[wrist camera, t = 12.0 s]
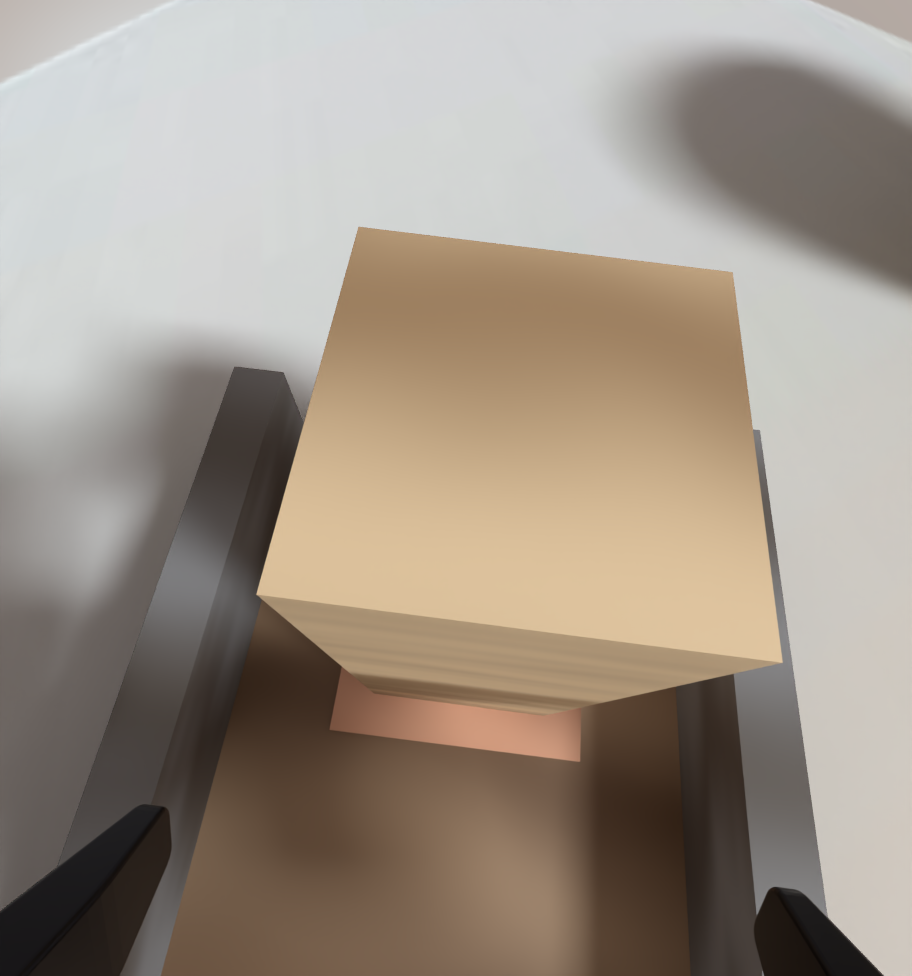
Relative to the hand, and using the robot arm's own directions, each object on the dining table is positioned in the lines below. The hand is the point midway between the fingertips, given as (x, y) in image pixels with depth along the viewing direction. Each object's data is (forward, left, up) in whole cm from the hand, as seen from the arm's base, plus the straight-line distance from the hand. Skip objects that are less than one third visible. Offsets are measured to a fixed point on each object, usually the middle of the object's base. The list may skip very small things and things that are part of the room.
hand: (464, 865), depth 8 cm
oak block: (+3, +4, -7) cm, 9 cm away
